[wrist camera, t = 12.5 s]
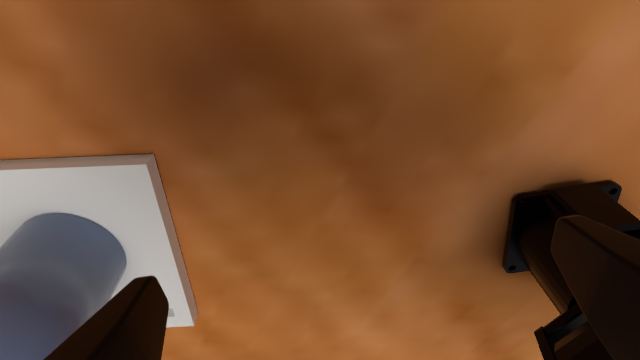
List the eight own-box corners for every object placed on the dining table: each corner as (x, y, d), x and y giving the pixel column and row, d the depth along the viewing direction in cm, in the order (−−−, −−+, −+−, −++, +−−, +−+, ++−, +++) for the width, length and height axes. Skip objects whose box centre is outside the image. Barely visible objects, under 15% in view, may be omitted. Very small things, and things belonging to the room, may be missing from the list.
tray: (153, 153, 21) (146, 164, 20) (197, 312, 28) (194, 325, 27) (-90, 163, 21) (-110, 174, 20) (15, 321, 28) (4, 335, 27)
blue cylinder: (148, 260, 25) (28, 519, 14) (83, 302, 26) (-69, 561, 15) (58, 194, 22) (-190, 458, 11) (-8, 247, 23) (-278, 520, 12)
